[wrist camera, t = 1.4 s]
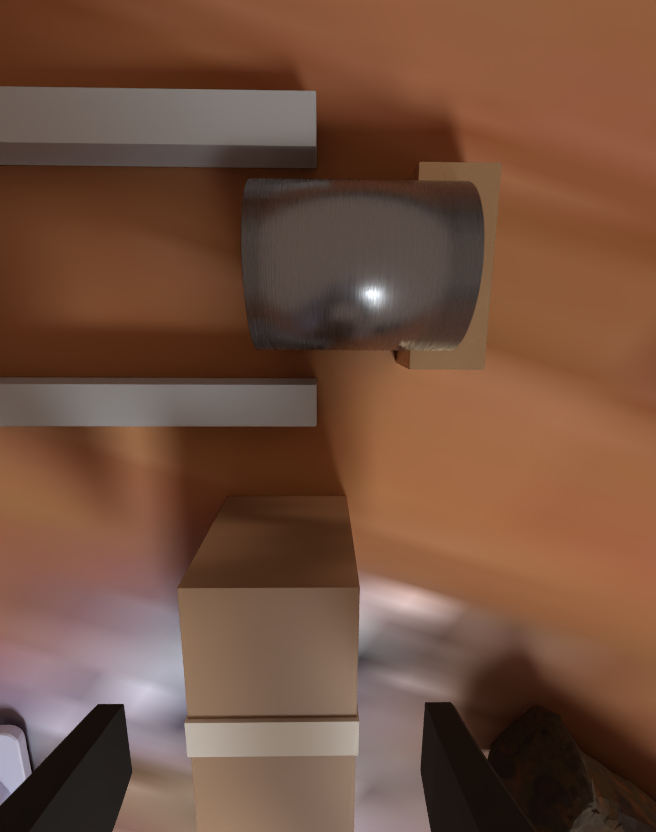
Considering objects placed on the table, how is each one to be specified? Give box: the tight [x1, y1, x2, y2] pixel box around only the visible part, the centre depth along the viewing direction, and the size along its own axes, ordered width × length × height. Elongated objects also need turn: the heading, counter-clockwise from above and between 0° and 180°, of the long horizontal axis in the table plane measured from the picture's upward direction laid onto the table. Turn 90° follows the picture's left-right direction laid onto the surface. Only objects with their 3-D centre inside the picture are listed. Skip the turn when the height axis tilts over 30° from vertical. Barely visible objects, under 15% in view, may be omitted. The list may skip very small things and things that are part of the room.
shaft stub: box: [241, 162, 502, 370], centre depth 10 cm, size 6×5×4 cm
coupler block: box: [177, 496, 360, 832], centre depth 12 cm, size 4×8×5 cm, turn 0°
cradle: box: [0, 86, 317, 426], centre depth 12 cm, size 14×8×2 cm, turn 90°
